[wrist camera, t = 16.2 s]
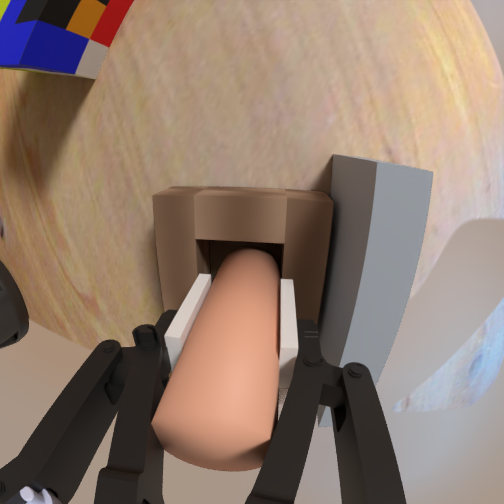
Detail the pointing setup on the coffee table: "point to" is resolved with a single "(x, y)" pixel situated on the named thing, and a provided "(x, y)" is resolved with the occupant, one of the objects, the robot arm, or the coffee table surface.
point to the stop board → (370, 260)
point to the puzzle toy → (58, 34)
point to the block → (242, 236)
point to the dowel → (227, 370)
